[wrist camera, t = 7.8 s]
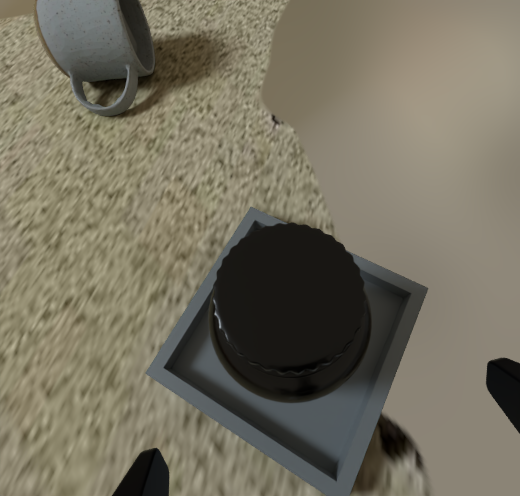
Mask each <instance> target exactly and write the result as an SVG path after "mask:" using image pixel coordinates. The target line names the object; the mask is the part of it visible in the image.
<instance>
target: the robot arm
mask: <svg viewBox="0 0 520 496" xmlns="http://www.w3.org/2000/svg"><path fill="white" fill-rule="evenodd" d="M486 385H487V388H488V391H489V392H490V394H491V395H492V397H493V398H494V399H495V401H496V402H497V403H498V405H499V406H500V408H501V409H502V410H503V411H504V413H505V414H506V416H507V417H508V419H509V420H510V421H511V423H512V424H513V425H514V427H515V428H516V429H517V431H518V432H519V433H520V363H518V362H515V361H513V360H510V359H508V358H499V359H495V360H491V361H489V362H488V364H487V377H486ZM112 496H169V470H168V466H167V464H166V462H165V460H164V458H163V457H162V455H161V453H160V451H159V449H157V448H153V449H149V450H145V451H143V452H141V453H140V454H139V456H138V457H137V459H136V460H135V462H134V463H133V465H132V466H131V468H130V469H129V471H128V472H127V474H126V475H125V477H124V478H123V480H122V481H121V483H120V484H119V486H118V487H117V489H116V490H115V492H114V493H113V495H112Z"/></svg>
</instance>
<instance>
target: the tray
mask: <svg viewBox="0 0 520 496" xmlns="http://www.w3.org/2000/svg"><path fill="white" fill-rule="evenodd" d="M277 223H282V224H288V223H285V222H283V221H281V220H279V219H277V218H274V217H272V216H270V215H268V214H266V213H264V212H261V211H259V210H257V209H255V208H253V207H250V209H249V211H248V212H247V214H246V215H245V217H244V218H243V220H242V222H241V223H240V225H239V226H238V228H237V229H236V231H235V233H234V234H233V236H232V237H231V239H230V241H229V242H228V244H227V245H226V247H225V248H224V250H223V252H222V253H221V255H220V256H219V258H218V259H217V261H216V263H215V264H214V266H213V267H212V269H211V270H210V272H209V274H208V275H207V277H206V278H205V280H204V281H203V283H202V285H201V286H200V288H199V289H198V291H197V293H196V294H195V296H194V297H193V299H192V300H191V302H190V304H189V305H188V307H187V308H186V310H185V311H184V313H183V315H182V316H181V318H180V319H179V321H178V322H177V324H176V326H175V327H174V329H173V330H172V332H171V334H170V335H169V337H168V338H167V340H166V341H165V343H164V345H163V346H162V348H161V349H160V351H159V352H158V354H157V356H156V357H155V359H154V360H153V362H152V363H151V365H150V367H149V368H148V370H147V371H146V374H147V375H149V376H150V377H151V378H153V379H154V380H156V381H157V382H159V383H160V384H162V385H163V386H165V387H166V388H168V389H169V390H171V391H172V392H174V393H175V394H177V395H178V396H180V397H181V398H183V399H184V400H186V401H187V402H189V403H190V404H192V405H193V406H195V407H196V408H197V409H199V410H200V411H202V412H203V413H205V414H206V415H208V416H209V417H211V418H212V419H214V420H215V421H217V422H218V423H220V424H221V425H223V426H224V427H226V428H227V429H229V430H230V431H232V432H233V433H235V434H236V435H238V436H239V437H240V438H242V439H243V440H245V441H246V442H248V443H249V444H251V445H252V446H254V447H255V448H257V449H258V450H260V451H261V452H263V453H264V454H266V455H267V456H269V457H270V458H272V459H273V460H275V461H276V462H278V463H279V464H281V465H282V466H283V467H285V468H286V469H288V470H289V471H291V472H292V473H294V474H295V475H297V476H298V477H300V478H301V479H303V480H304V481H306V482H307V483H309V484H310V485H312V486H313V487H315V488H316V489H318V490H319V491H321V492H322V493H324V494H325V495H326V496H349V495H350V493H351V490H352V487H353V485H354V482H355V479H356V477H357V474H358V472H359V469H360V466H361V464H362V461H363V458H364V456H365V453H366V451H367V448H368V445H369V443H370V440H371V437H372V435H373V432H374V430H375V427H376V424H377V422H378V419H379V416H380V414H381V411H382V409H383V406H384V403H385V400H386V398H387V395H388V393H389V390H390V388H391V385H392V382H393V379H394V377H395V374H396V372H397V369H398V366H399V364H400V361H401V359H402V356H403V353H404V351H405V348H406V345H407V343H408V340H409V338H410V335H411V332H412V330H413V327H414V324H415V322H416V319H417V317H418V314H419V311H420V309H421V306H422V303H423V301H424V298H425V296H426V293H427V290H428V288H426V287H425V286H422V285H420V284H418V283H416V282H414V281H411V280H409V279H407V278H405V277H403V276H401V275H398V274H396V273H394V272H392V271H390V270H388V269H385V268H383V267H381V266H379V265H377V264H374V263H372V262H370V261H368V260H366V259H364V258H361V257H359V256H357V255H355V254H353V253H350V252H349V253H350V254H351V255H353V258H354V263H355V264H357V265H358V267H359V268H360V276H361V277H362V279H363V280H364V282H365V284H364V288H365V290H366V293H367V295H368V299H369V302H370V307H371V315H372V330H371V338H370V342H369V346H368V349H367V352H366V354H365V357H364V359H363V361H362V363H361V364H360V366H359V368H358V369H357V370H356V372H355V373H354V374H353V375H352V377H351V378H350V379H349V380H348V381H347V382H346V383H344V384H343V385H342V386H341V387H340V388H338V389H337V390H335V391H334V392H332V393H330V394H328V395H326V396H324V397H322V398H319V399H316V400H312V401H309V402H302V403H281V402H275V401H271V400H267V399H264V398H262V397H259V396H257V395H255V394H253V393H251V392H249V391H248V390H246V389H245V388H243V387H242V386H241V385H239V384H238V383H237V382H236V381H235V380H234V379H233V378H232V377H231V376H230V375H229V374H228V373H227V371H226V370H225V369H224V368H223V366H222V364H221V363H220V361H219V359H218V357H217V355H216V353H215V351H214V348H213V346H212V342H211V339H210V333H209V325H208V312H209V305H210V300H211V296H212V293H213V290H214V289H213V284H214V282H215V281H216V279H217V276H216V273H217V270H218V269H219V268H220V267H221V265H222V260H223V258H224V257H225V256H227V255H228V254H229V251H230V249H231V248H232V247H233V246H235V245H237V244H238V242H239V241H240V239H241V238H244V237H247V236H249V234H250V233H251V232H252V231H257V230H261V229H262V228H263V227H264V226H274V225H275V224H277ZM347 252H348V251H347Z"/></svg>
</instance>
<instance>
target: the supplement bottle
mask: <svg viewBox="0 0 520 496" xmlns="http://www.w3.org/2000/svg"><path fill="white" fill-rule="evenodd" d="M216 276H217V279H216V281H215V282H214V284H213V289H214V290H213V293H212V296H211V300H210V305H209V312H208V325H209V333H210V339H211V342H212V346H213V348H214V351H215V353H216V355H217V357H218V359H219V361H220V363H221V364H222V366H223V368H224V369H225V370H226V371H227V373H228V374H229V375H230V376H231V377H232V378H233V379H234V380H235V381H236V382H237V383H238V384H239V385H241V386H242V387H243V388H245V389H246V390H248V391H249V392H251V393H253V394H255V395H257V396H259V397H262V398H264V399H267V400H271V401H275V402H281V403H302V402H309V401H312V400H316V399H319V398H322V397H324V396H326V395H328V394H330V393H332V392H334V391H335V390H337V389H338V388H340V387H341V386H342V385H343V384H344V383H346V382H347V381H348V380H349V379H350V378H351V377H352V375H353V374H354V373H355V372H356V370H357V369H358V368H359V366H360V364H361V363H362V361H363V359H364V357H365V354H366V352H367V349H368V346H369V342H370V338H371V330H372V315H371V307H370V302H369V299H368V295H367V293H366V290H365V288H364V284H365V282H364V280H363V279H362V277H361V276H360V268H359V267H358V265H357V264H355V263H354V258H353V255H351V254H350V253H349V252H347V251H346V250H345V247H344V245H343V244H341V243H339V242H337V241H336V240H335V239H334V238H333V236H331V235H328V234H324V233H323V232H322V231H321V230H320V229H316V228H311V227H309V226H308V225H297V224H295V223H288V224H282V223H277V224H275V225H274V226H264V227H263V228H262V229H261V230H257V231H252V232H251V233H250V234H249V236H247V237H244V238H241V239H240V241H239V242H238V244H237V245H235V246H233V247H232V248H231V249H230V251H229V254H228V255H227V256H225V257H224V258H223V260H222V265H221V267H220V268H219V269H218V270H217V273H216Z"/></svg>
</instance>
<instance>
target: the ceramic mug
mask: <svg viewBox="0 0 520 496" xmlns="http://www.w3.org/2000/svg"><path fill="white" fill-rule="evenodd" d="M34 22H35V27H36V31H37V34H38V36H39V39H40V41H41V43H42V46H43V48H44V49H45V51H46V53H47V55H48V56H49V58H50V59H51V61H52V62H53V63H54V64H55V66H56V67H57V68H58V69H59V70H60V71H61V72H62V73H64V74H65V75H66V76H68V77H69V78H70V81H71V87H72V90H73V93H74V94H75V96H76V98H77V99H78V101H79V102H80V103H81V104H82V105H83V106H85V107H86V108H87V109H89V110H90V111H92V112H94V113H96V114H99V115H102V116H113V115H118V114H121V113H123V112H124V111H126V110H127V109H128V108H129V107H130V106H131V104H132V103H133V101H134V99H135V96H136V92H137V85H138V77H140V76H147V75H151V74H152V73H153V71H154V67H155V54H154V47H153V41H152V37H151V33H150V28H149V26H148V23H147V19H146V17H145V14H144V11H143V9H142V6H141V4H140V2H139V0H36V1H35V4H34ZM121 78H127V81H126V85H125V89H124V91H123V93H122V95H121V96H120V98H118V99H117V101H116V102H115V103H114V104H112V105H111V106H108V107H103V106H100V105H99V104H92V103H90V102H88V101H87V99H86V96H85V94H84V90H83V85H82V82H83V81H84V82H94V81H101V80H108V79H121Z"/></svg>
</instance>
